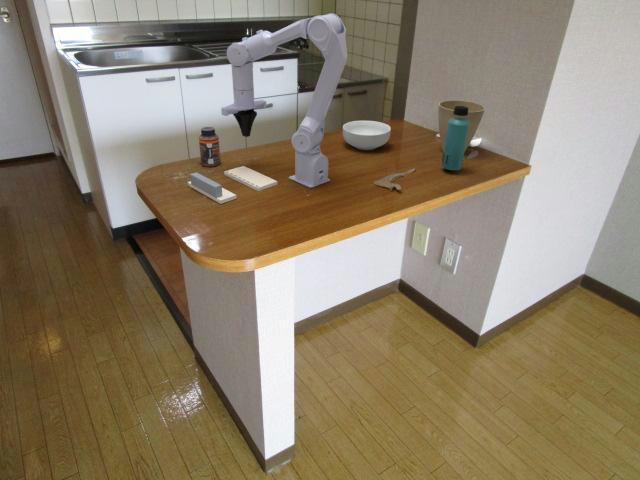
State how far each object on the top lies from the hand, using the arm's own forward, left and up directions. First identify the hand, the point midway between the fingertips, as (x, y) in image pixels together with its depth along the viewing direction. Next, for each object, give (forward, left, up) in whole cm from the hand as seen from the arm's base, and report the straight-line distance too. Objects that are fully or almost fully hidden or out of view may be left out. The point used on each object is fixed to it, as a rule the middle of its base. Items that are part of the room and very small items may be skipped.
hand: (246, 135), depth 135 cm
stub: (-7, +18, -10) cm, 22 cm away
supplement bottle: (+11, +6, -11) cm, 16 cm away
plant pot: (-34, -63, -11) cm, 72 cm away
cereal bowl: (-10, -44, -11) cm, 46 cm away
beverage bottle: (-43, -46, -11) cm, 64 cm away
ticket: (-7, +5, -10) cm, 13 cm away
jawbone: (-38, -29, -11) cm, 49 cm away
